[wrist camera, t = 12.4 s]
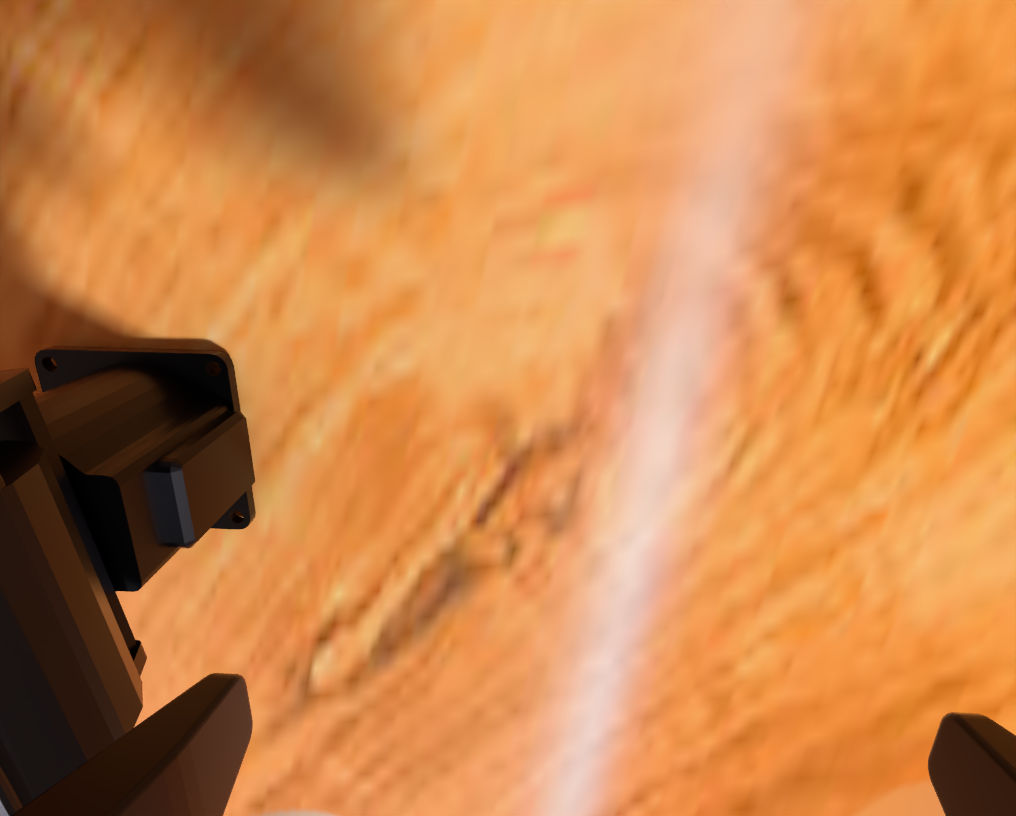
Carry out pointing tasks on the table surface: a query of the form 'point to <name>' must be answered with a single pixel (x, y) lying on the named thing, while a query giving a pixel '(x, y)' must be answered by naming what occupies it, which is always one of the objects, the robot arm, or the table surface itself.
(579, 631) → the table surface
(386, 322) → the table surface
